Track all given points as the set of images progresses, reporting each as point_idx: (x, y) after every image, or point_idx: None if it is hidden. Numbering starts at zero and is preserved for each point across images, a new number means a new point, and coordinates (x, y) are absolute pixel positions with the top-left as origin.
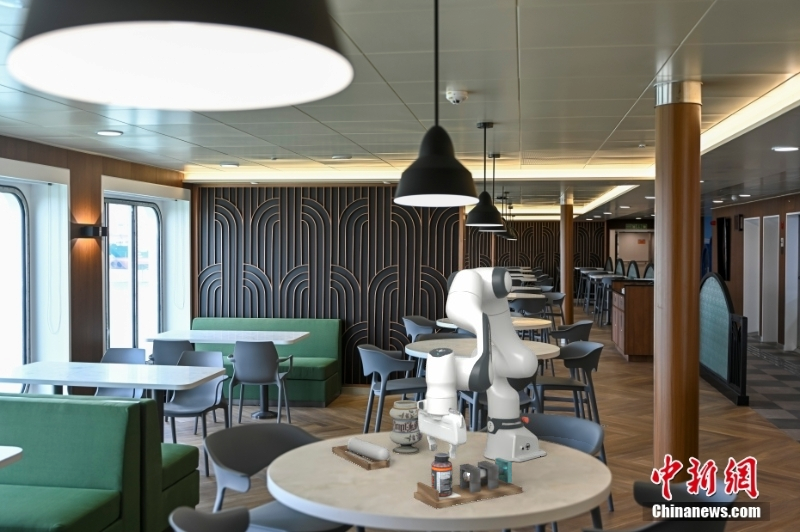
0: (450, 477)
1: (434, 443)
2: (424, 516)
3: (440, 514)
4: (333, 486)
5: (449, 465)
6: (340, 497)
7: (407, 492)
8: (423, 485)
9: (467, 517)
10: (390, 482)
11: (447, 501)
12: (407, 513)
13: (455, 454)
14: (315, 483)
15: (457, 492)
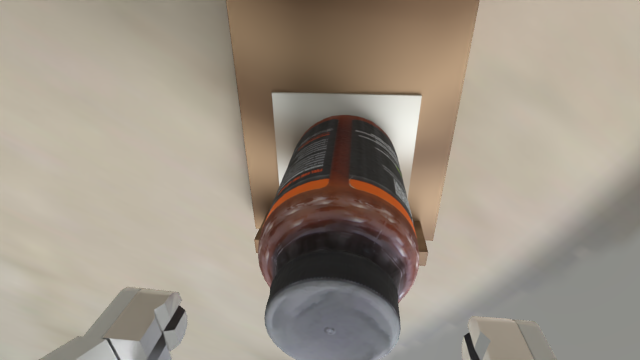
0: (405, 192)
1: (101, 356)
2: (463, 292)
3: (488, 247)
4: (70, 324)
5: (417, 254)
6: (176, 353)
7: (190, 200)
8: None
9: (603, 192)
10: (46, 184)
11: (441, 192)
12: (401, 310)
13: (550, 352)
14: (35, 339)
15: (354, 69)
